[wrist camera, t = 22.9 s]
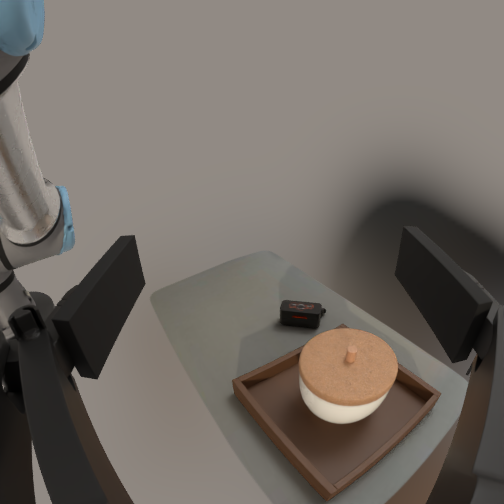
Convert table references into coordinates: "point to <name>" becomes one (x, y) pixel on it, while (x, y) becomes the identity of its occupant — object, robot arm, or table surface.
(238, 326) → the table surface
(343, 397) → the trinket box
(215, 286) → the table surface
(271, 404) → the tray
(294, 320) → the wireless earbuds
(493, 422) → the robot arm
